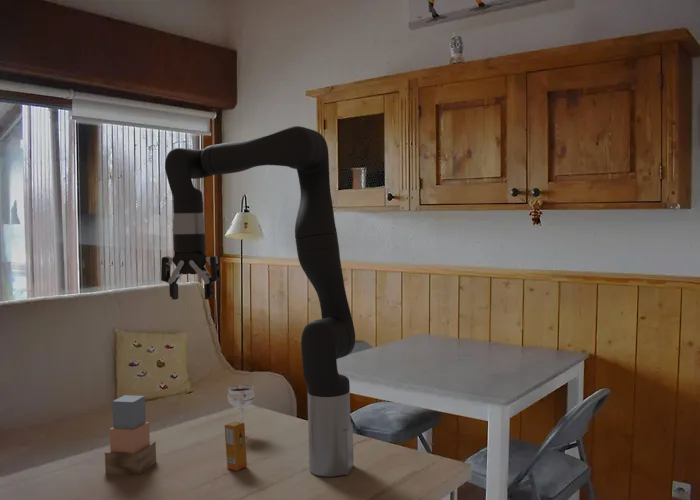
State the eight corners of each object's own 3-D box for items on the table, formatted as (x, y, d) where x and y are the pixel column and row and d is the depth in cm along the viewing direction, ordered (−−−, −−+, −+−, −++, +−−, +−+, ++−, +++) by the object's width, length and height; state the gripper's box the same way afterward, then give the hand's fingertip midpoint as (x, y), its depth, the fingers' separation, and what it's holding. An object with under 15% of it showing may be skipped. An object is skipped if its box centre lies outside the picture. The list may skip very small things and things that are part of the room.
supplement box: (236, 463, 149) (235, 420, 148) (247, 467, 146) (246, 422, 146) (225, 468, 146) (224, 423, 145) (236, 471, 144) (234, 426, 143)
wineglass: (223, 436, 167) (222, 390, 167) (237, 428, 173) (235, 383, 173) (247, 439, 165) (245, 392, 164) (259, 431, 171) (258, 385, 171)
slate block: (145, 422, 149) (144, 396, 149) (133, 429, 144) (132, 402, 144) (125, 421, 150) (124, 395, 150) (113, 428, 145) (112, 401, 145)
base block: (156, 462, 151) (155, 441, 151) (139, 476, 143) (138, 453, 143) (123, 461, 152) (123, 440, 152) (105, 474, 144) (104, 452, 144)
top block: (149, 443, 149) (149, 422, 149) (134, 453, 143) (133, 430, 143) (126, 442, 151) (125, 420, 150) (110, 451, 145) (109, 428, 145)
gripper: (223, 231, 161) (225, 297, 161) (169, 232, 163) (171, 297, 164) (210, 232, 153) (212, 301, 154) (154, 233, 156) (156, 301, 157)
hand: (191, 299), depth 159 cm, fingers open, 8 cm apart
